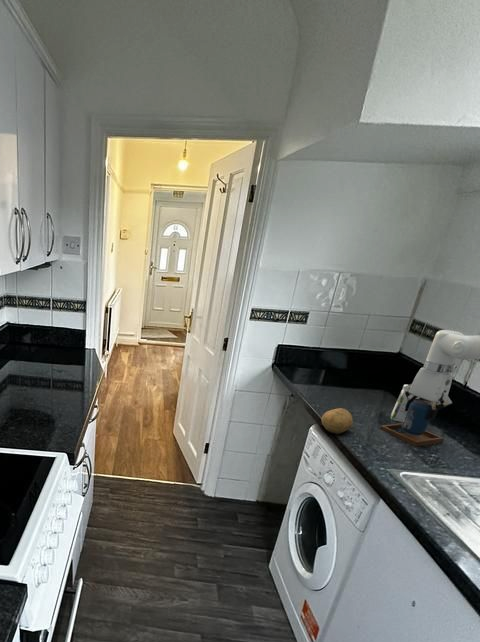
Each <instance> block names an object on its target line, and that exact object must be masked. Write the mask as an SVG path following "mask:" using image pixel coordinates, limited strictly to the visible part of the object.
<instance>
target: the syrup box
mask: <svg viewBox="0 0 480 642" xmlns="http://www.w3.org/2000/svg"><path fill="white" fill-rule="evenodd" d="M407 385H408V384H403V386H402V389H401V391H400V393H399V396H398V398H397V400H396V403H394V404H395V405H394V407H393V409H392V411H391V414H390V420H391V421H395V422H399V423H403V421H404V419H405V416H406V414H407V411H405V406H406V404H407V401H408V400H407V397H406V395H405V391H404V387H405V386H407ZM416 399H421V398H420V397H417V398H416Z"/></svg>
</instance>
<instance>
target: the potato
mask: <svg viewBox="0 0 480 642" xmlns="http://www.w3.org/2000/svg"><path fill="white" fill-rule="evenodd" d="M353 424H354V422H353V416H352V414H351V413H350V411H348V410H347V409H345V408H342V407H338V408H334V409H331V410H328V411H326V412H324V413H323V414H322V416H321V425H322V426H323V427H324V429H325V430H326V431H327V432H328V433H331V434H336V435H337V434H338V435H339V434H342V433H344V432H347V431H348V430H350V429H351V428H352V426H353Z"/></svg>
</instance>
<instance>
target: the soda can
mask: <svg viewBox="0 0 480 642" xmlns="http://www.w3.org/2000/svg"><path fill="white" fill-rule="evenodd" d="M429 409H432V406H431V401H429V400H426V399H423V398H419V399H414V401H413V402H412V403H411V404H410V406H409V409H408V411H407V414H406V416H405V419H404V421H403V422H402V423H403V424H402V427H401V429H402V432H403V433H408V434H411V435H416V436H419V435H421V434H423V433H424V432H425V430H426V429H427V427H428V425H429V422H430V420H426V416H427V414H428V411H429ZM426 431H427V430H426Z"/></svg>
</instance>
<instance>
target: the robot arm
mask: <svg viewBox="0 0 480 642" xmlns="http://www.w3.org/2000/svg"><path fill="white" fill-rule="evenodd" d="M456 360H462V361H465V360H467V361H468V360H469V361H470V360H471V361H472V360H480V335H479V334H477V335H475V334H474V335H465V334H464V333H463V332H461V331H457V330H451V329H450V330H449V329H441V330H438V331H437V332H436V333H435V335H434V338H433V340H432V343H431V345H430V348H429V351H428V354H427V356H426V359H425V361H424V364H423V367H421V368H420V369H419V370H418V372H417V373H416V375H415V377H414V379H413V381H412V383H410V384H406V385H407V386H405V387H404V391H405V395H406V397H407V400H408V401H407V404H406V406H405V411H408V409H409V406H410V404H411V403H412V402H413V401H414V399H416V398H417V397H420V398H419V399H423V400H427V401H430V402H431V406H432V409H429V411H428V414H427V416H426V420H429V421H431V420H435V418H436V416H437V414H438V412H439V410H441V409H444V408H446V407H449V406H450V405H452V404H453V401H452V400H451V398H450V397H449V392H450V389H451V386H452V381H453V374H452V373H455V372H456V370H457V369H456V368H455V367H454V365H455V362H456ZM441 402H442V403H441Z"/></svg>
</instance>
